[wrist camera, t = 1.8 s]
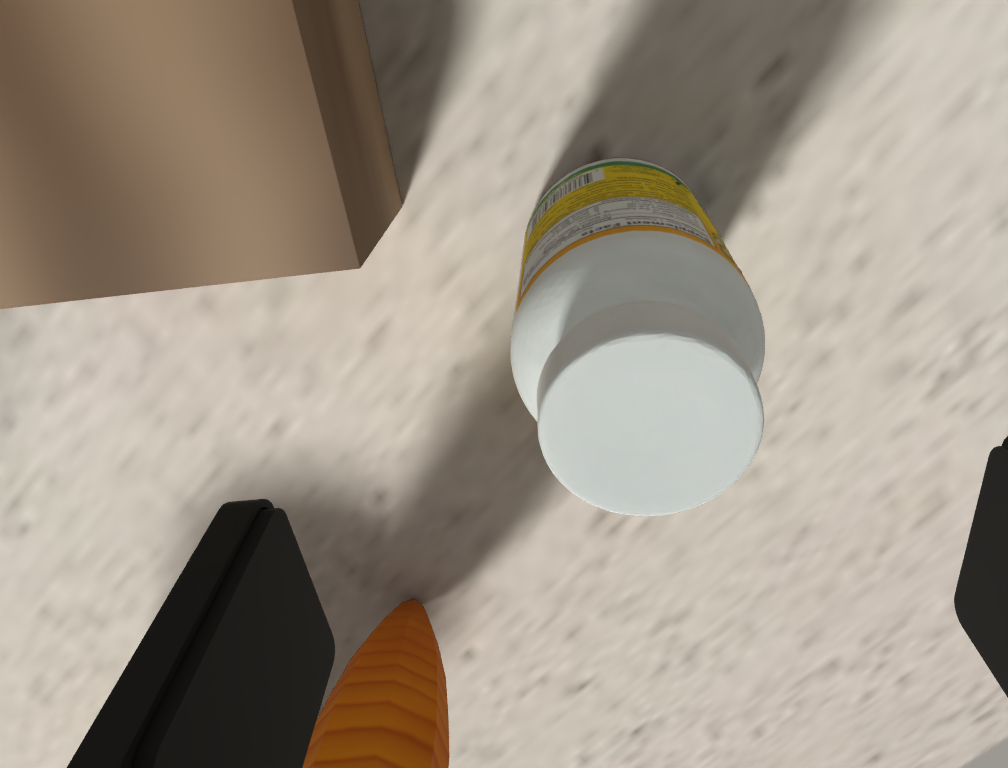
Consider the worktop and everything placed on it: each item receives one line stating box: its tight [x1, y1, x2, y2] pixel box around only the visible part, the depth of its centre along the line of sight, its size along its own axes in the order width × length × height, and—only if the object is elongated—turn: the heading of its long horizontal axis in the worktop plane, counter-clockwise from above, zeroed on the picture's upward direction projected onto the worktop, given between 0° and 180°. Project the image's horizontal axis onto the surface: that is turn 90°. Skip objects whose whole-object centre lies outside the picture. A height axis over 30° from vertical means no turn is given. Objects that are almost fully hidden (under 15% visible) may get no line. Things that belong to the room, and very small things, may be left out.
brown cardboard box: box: [0, 0, 402, 309], centre depth 16 cm, size 12×12×5 cm
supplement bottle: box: [510, 158, 765, 516], centre depth 17 cm, size 5×5×10 cm
